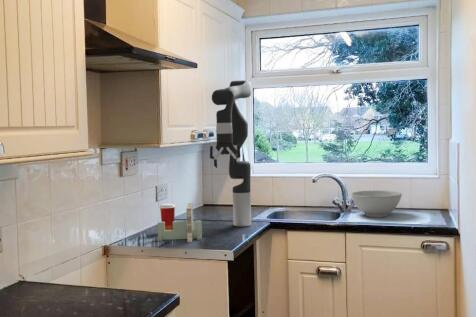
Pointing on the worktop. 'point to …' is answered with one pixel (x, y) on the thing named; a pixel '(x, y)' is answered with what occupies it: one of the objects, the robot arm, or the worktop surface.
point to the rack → (178, 231)
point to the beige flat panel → (190, 222)
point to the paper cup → (168, 215)
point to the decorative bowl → (376, 202)
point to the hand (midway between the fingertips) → (225, 167)
